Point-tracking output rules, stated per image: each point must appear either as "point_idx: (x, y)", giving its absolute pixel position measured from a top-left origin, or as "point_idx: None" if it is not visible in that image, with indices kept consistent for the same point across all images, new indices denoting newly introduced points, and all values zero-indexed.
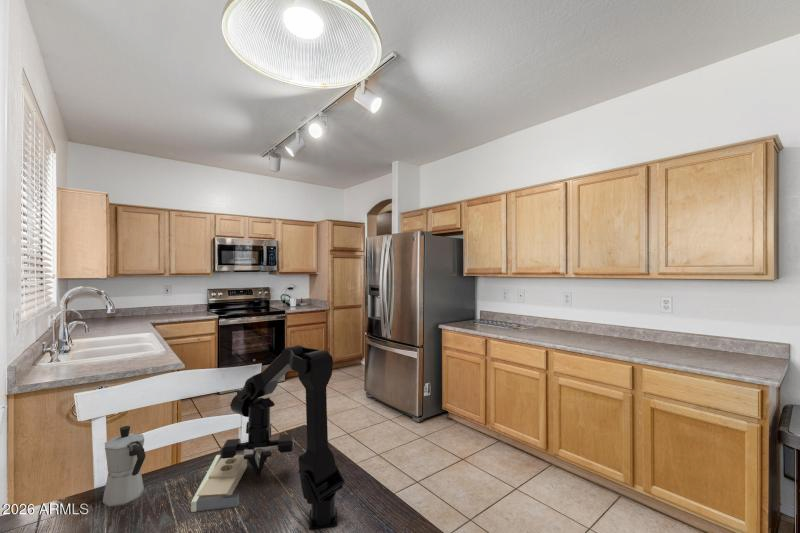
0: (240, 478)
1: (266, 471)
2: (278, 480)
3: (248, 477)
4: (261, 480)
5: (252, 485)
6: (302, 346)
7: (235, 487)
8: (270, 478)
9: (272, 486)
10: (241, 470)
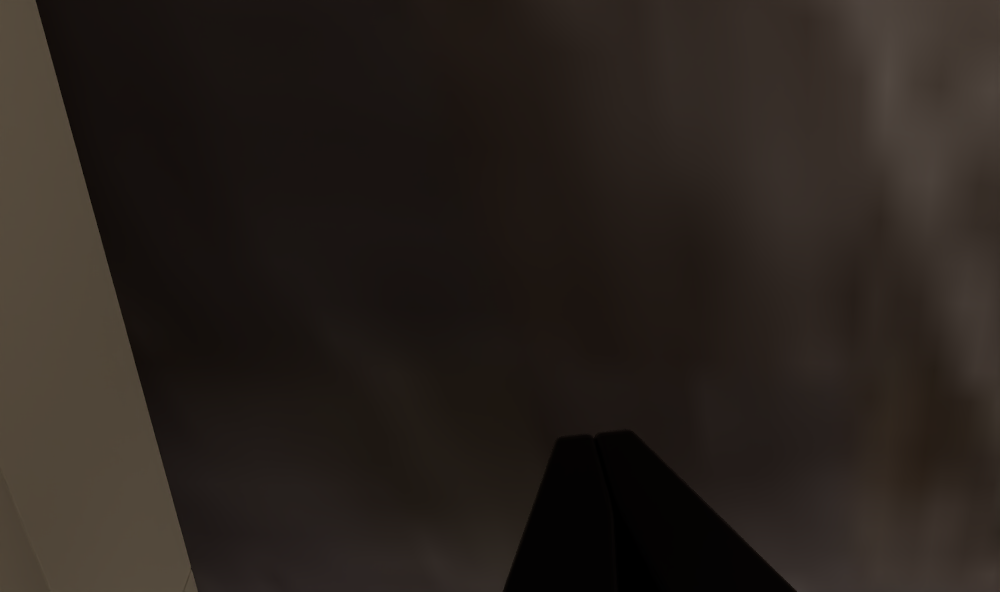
0: (119, 311)
1: (717, 32)
2: (985, 414)
3: (302, 279)
4: (639, 398)
5: (493, 527)
6: None
7: (190, 581)
8: (827, 344)
9: (859, 559)
10: (23, 331)
